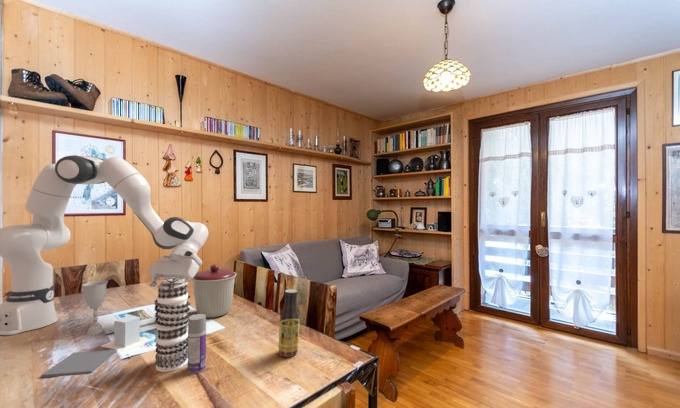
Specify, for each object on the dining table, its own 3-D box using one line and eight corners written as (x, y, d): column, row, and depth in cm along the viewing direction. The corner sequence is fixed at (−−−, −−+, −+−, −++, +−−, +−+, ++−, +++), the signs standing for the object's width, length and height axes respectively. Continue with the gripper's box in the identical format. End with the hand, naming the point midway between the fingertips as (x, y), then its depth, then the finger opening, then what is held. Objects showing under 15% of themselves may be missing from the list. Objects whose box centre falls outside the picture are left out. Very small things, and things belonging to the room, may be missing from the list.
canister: (180, 319, 119) (181, 268, 119) (208, 304, 136) (208, 259, 136) (221, 323, 115) (221, 270, 115) (244, 307, 133) (244, 261, 133)
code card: (100, 346, 96) (100, 346, 96) (127, 335, 105) (127, 334, 105) (126, 352, 92) (126, 351, 92) (152, 339, 101) (152, 339, 101)
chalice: (92, 337, 102) (92, 286, 102) (76, 335, 104) (77, 285, 104) (112, 329, 110) (112, 281, 110) (97, 327, 111) (98, 280, 111)
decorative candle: (157, 359, 89) (158, 276, 89) (191, 353, 92) (192, 274, 92) (150, 375, 80) (150, 284, 80) (187, 369, 83) (188, 281, 83)
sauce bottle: (279, 359, 89) (279, 294, 89) (277, 349, 95) (278, 288, 95) (300, 356, 91) (301, 292, 91) (298, 347, 97) (298, 287, 97)
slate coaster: (41, 377, 79) (41, 374, 79) (73, 355, 91) (73, 352, 91) (91, 373, 81) (91, 370, 81) (116, 352, 93) (116, 349, 93)
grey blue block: (114, 344, 97) (114, 320, 97) (128, 338, 102) (129, 315, 102) (125, 347, 95) (125, 322, 95) (139, 340, 100) (139, 317, 100)
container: (201, 362, 87) (201, 312, 87) (208, 368, 84) (209, 316, 84) (184, 369, 83) (185, 317, 83) (192, 375, 80) (192, 321, 80)
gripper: (157, 251, 121) (135, 280, 112) (197, 253, 115) (177, 284, 105) (167, 259, 125) (145, 288, 116) (206, 262, 119) (186, 293, 110)
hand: (161, 287), depth 111 cm, fingers open, 8 cm apart
